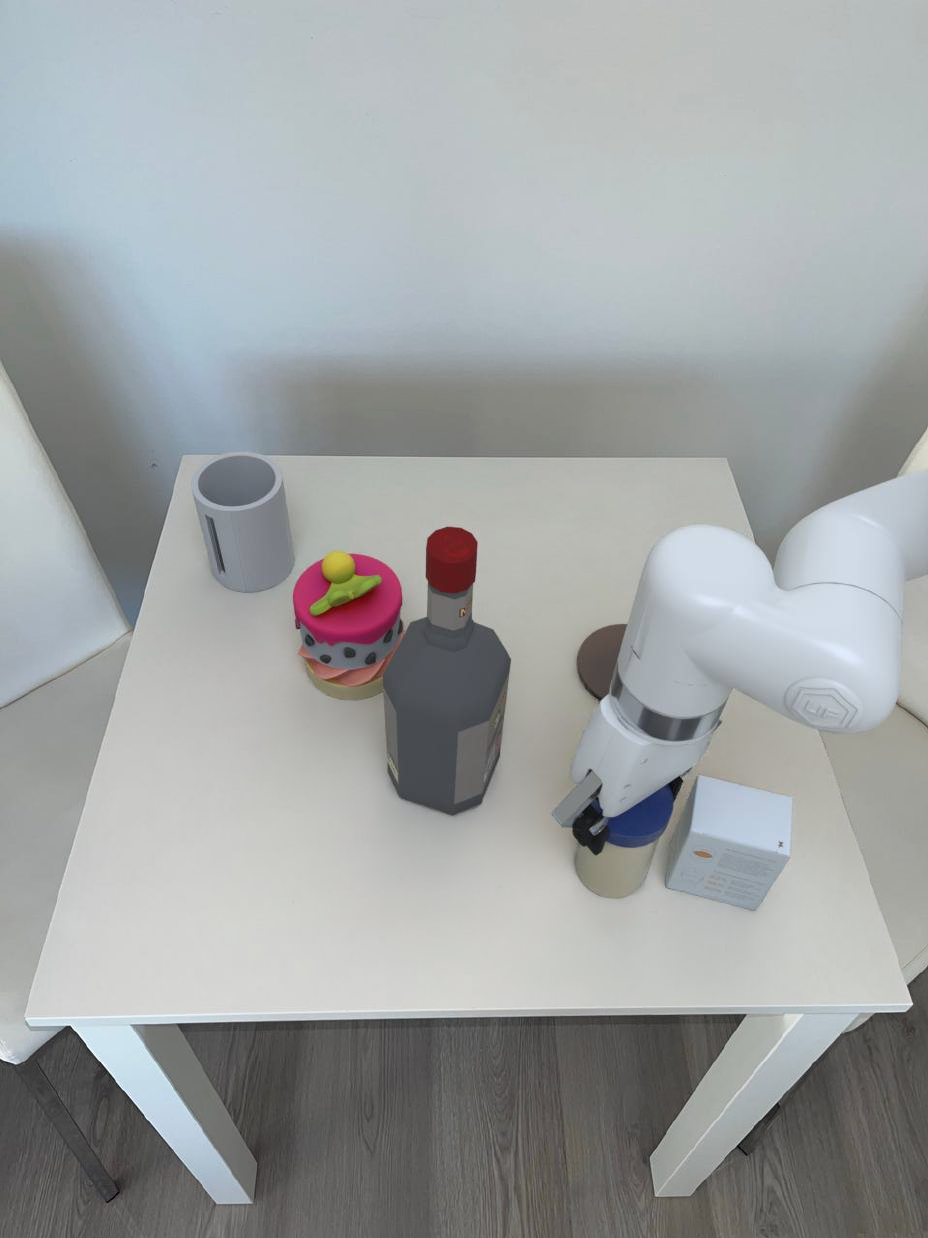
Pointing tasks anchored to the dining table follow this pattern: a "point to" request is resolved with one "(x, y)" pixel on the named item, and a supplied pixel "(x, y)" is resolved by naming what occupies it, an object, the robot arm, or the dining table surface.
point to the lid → (641, 820)
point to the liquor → (446, 688)
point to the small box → (730, 842)
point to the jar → (614, 868)
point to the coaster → (600, 659)
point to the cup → (244, 520)
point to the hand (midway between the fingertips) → (622, 815)
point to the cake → (348, 623)
